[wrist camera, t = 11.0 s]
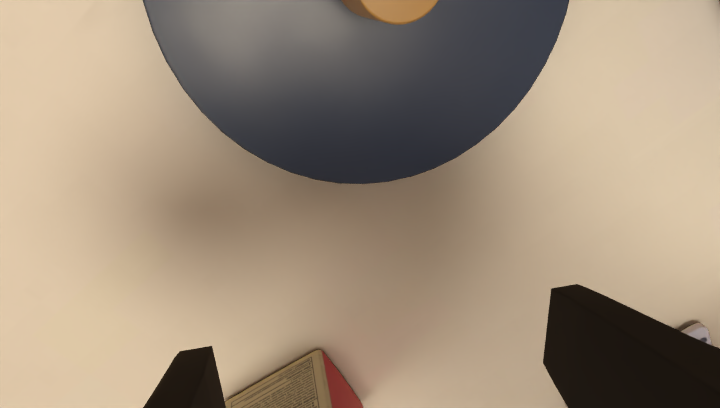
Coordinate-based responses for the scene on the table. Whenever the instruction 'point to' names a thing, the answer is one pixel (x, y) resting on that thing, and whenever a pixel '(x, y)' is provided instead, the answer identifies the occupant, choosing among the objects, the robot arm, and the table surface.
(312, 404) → the small box
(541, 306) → the table surface
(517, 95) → the tin lid
